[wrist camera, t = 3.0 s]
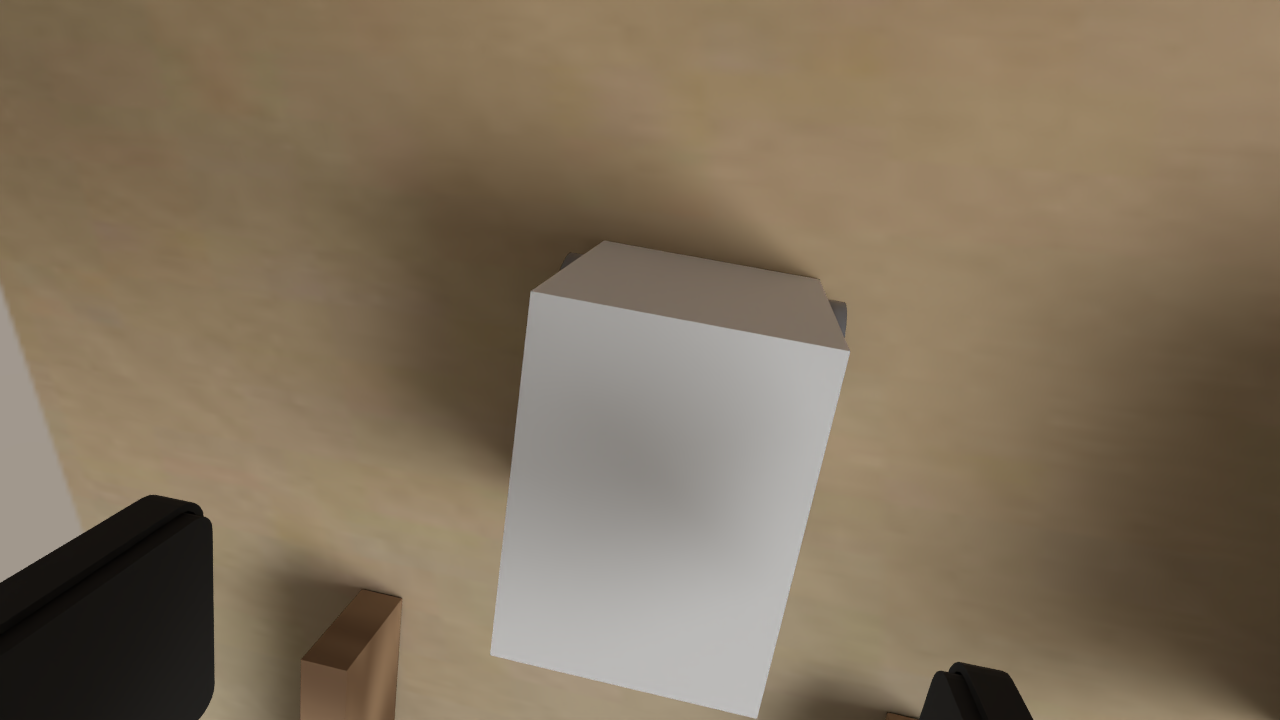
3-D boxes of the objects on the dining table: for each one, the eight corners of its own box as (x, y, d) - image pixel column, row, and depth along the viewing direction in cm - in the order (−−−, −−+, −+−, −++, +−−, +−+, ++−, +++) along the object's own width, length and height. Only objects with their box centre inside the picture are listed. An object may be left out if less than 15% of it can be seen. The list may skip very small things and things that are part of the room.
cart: (583, 236, 17) (500, 285, 12) (841, 282, 17) (884, 357, 11) (549, 500, 20) (464, 649, 14) (776, 549, 19) (784, 725, 13)
